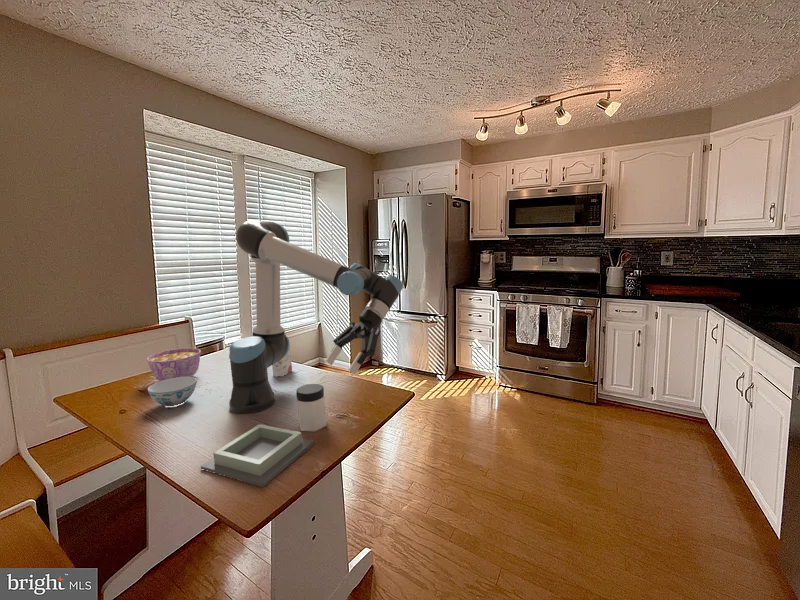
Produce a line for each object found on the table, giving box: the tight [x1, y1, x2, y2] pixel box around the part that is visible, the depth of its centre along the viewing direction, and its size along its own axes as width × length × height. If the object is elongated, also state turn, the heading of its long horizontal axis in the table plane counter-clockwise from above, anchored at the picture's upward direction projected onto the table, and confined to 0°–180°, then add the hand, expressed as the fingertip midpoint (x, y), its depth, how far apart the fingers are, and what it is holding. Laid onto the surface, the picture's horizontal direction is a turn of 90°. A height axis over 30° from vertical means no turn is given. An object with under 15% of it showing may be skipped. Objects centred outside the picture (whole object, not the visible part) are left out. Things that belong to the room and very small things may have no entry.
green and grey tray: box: [200, 423, 315, 488], centre depth 98 cm, size 20×20×4 cm
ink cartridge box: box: [271, 345, 293, 377], centre depth 162 cm, size 9×5×15 cm, turn 168°
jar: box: [296, 383, 327, 433], centre depth 114 cm, size 9×8×12 cm
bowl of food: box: [146, 347, 202, 382], centre depth 158 cm, size 20×20×12 cm
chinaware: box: [147, 376, 197, 406], centre depth 134 cm, size 15×15×8 cm
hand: (339, 367), depth 119 cm, fingers open, 13 cm apart
